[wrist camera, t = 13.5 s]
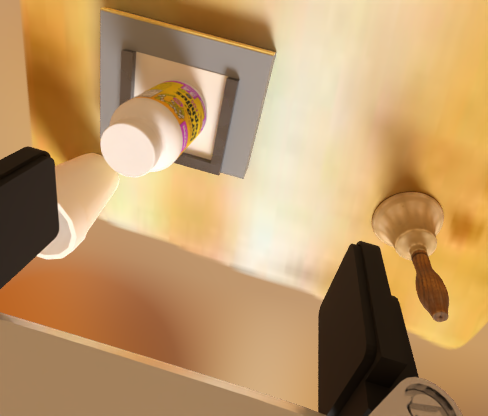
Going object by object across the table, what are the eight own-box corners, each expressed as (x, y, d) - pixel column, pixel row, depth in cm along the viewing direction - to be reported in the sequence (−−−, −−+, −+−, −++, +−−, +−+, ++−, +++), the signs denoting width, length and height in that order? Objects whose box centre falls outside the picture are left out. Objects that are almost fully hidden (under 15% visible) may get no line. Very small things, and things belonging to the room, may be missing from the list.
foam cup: (66, 192, 53) (-1, 244, 41) (64, 133, 48) (-13, 175, 37) (128, 211, 52) (77, 268, 41) (132, 153, 47) (75, 202, 36)
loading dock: (276, 50, 38) (273, 54, 35) (247, 168, 45) (243, 179, 43) (114, 6, 39) (100, 7, 36) (112, 130, 46) (99, 139, 43)
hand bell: (397, 257, 48) (428, 360, 35) (358, 217, 46) (374, 309, 33) (457, 224, 44) (518, 324, 31) (416, 178, 42) (462, 264, 29)
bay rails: (239, 79, 37) (237, 81, 36) (220, 171, 43) (218, 175, 42) (125, 48, 38) (121, 49, 37) (122, 144, 43) (118, 147, 43)
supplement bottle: (216, 132, 40) (178, 182, 30) (163, 143, 42) (109, 194, 31) (197, 71, 37) (147, 102, 26) (142, 85, 39) (73, 120, 28)
